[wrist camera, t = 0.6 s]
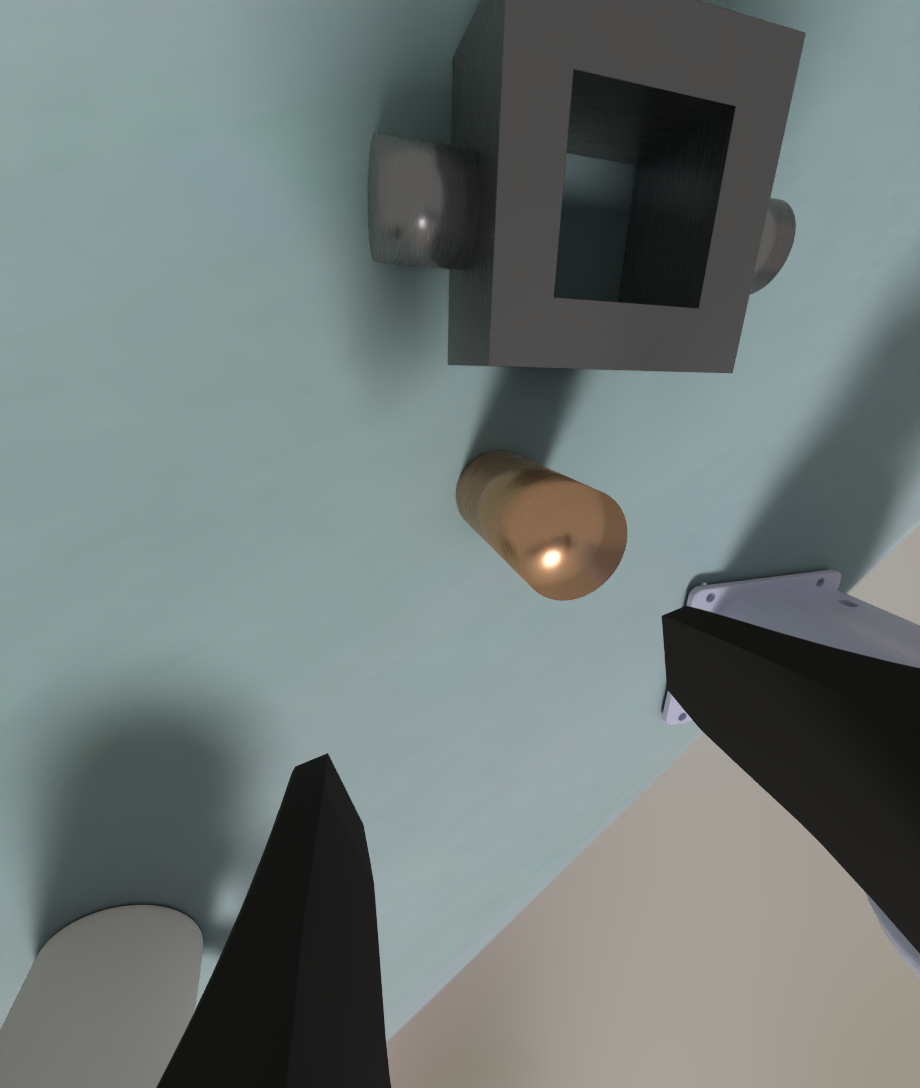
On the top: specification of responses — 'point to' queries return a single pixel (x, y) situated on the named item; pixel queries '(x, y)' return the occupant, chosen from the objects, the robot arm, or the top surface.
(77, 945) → the mug
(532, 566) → the tapered valve plug
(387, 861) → the top surface
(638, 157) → the valve body
